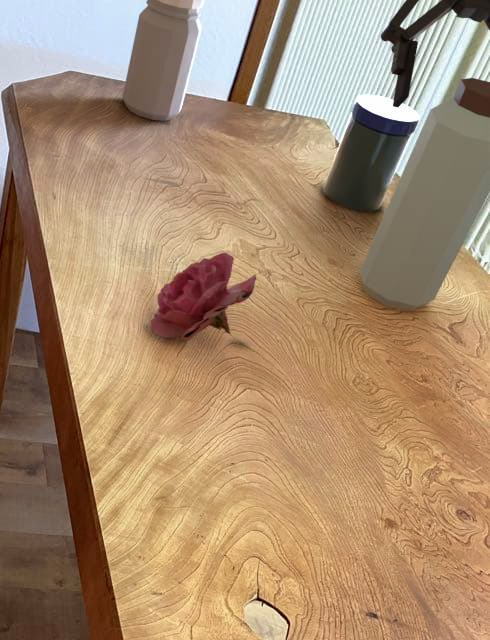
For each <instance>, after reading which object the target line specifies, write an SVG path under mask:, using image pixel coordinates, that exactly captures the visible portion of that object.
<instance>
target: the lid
mask: <svg viewBox="0 0 490 640" xmlns="http://www.w3.org/2000/svg"><path fill="white" fill-rule="evenodd" d="M393 100H394V99H393V98H389V97H384V96H381V95H376V94H375V95H374V94H361V95H358V96H357V97H356V99H355V101H354V102H353V105H352V108H351V110H350V113H352V116H353V117H354V118H355V119H356V120H357V121H359V122H360V123H362V124H364V125H365V126H367V127H370V128H372V129H375V130H378V131H381V132H384V133H388V134H393V135H410V134H412V135H413V133H415V131H416V129H417V126H418V123H419V121H420V115H419V114H418V112H417V111H416V110H414V109H413V108H411V107H410V106H408V105H406V104H404V103H402V104H401V105H400V107H399V108H397V107H392V105H393Z"/></svg>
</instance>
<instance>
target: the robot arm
mask: <svg viewBox="0 0 490 640" xmlns="http://www.w3.org/2000/svg"><path fill="white" fill-rule="evenodd" d="M419 2H420V0H405V1H404V2H403V4H402V5H401V6H400V8H399V9H398V10H397V11H396V13H395V14H394V16H393V17H392V19H390V21H389V22H388V24H386V26H385V28H384V29H383V30H382V31H381V33H380V39H381V41H383V42H389V43H391V44H392V45H391V47H390V48H391V49H390V50H391V52H392V54H393V56H392V62H391V67H390V68H391V69H390V71H391V72H390V73H391V74H392V75H395V76H396V83H395V88H394V95H393V99H392V100H393V105H392V107H397V108H399V107H400V105H401V104H404V102H405V101H406V100H407V99H408V98H409V96H410V91H411V86H412V79H413V74H414V67H415V62H416V58H417V57H416V56H417V52H418V44H419V41H418V40H415V39H417V38H418V37H419V36H421V35H422V34H423V33H424V32H426V31H427V30H428V29H429V28H431V27H432V26H433V25H434V24H436V23H437V22H438V21H439V20H441V19H443V18H444V17H446V15H448V14H449V13H451V11H452V12H453V13H454V14H455V18H458V19H470V20H472V21H473V22H476V23H480V24H481V23H482V22H484V24H485V26H486V27H487V29H488V30H489V31H490V0H439V2H437V3H436V4H434V5H433V6H432V7H431V8H430V9H429V10H428V11H426V12H425V13H423V15H421V16H420V17H419V18H417V19H416V20H415V21H413V22H412V23H411V24H410V25H408V26H407V27H406V28H403V27H402V26H401V25H402V24H403V23H404V21H405V20H406V19H407V17H408V16H409V14H410V13H411V12H412V11H413V9H414V8H415V7H416V5H417V4H418V3H419Z"/></svg>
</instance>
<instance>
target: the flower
mask: <svg viewBox="0 0 490 640" xmlns="http://www.w3.org/2000/svg"><path fill="white" fill-rule="evenodd" d="M234 260H235V258H234V256H233V255H232V254H229V253H228V252H221V253H218V254H216V255H214V256H212V257H211V258H205V257H203V258H202V259H200V261H196V262H194V263H191V264H190V265H188V266H187V268H185V269H182V271H181V272H180V271H179V272H178V273H176V274H175V275H174V277H173V278H172V281H170V282H169V283H165V284H164V285H163V287H162V288H160V291H159V293H157V296H156V299H157V305H158V309H157V312H154V314H153V315H154V316H153V318H151V320H150V328H151V332H152V333H153V334H155V335H156V336H158V337H161V338H165V339H171V340H172V339H176V338H178V337H180V336H181V339H180V341H181V342H183V343H187V342H189V341H190V340H191V339H192V338H194V337H195V336H197V335H198V334H199V333H201V332H202V331H203V330H205V329H206V328H208V327H212V328H215V329H217V330H219V331H221V330H222V329H223V330H224V332H225V333H227V334H229V335H230V336H231V337H232V338H233V339H234V340H235V341H237V343H238V344H240V345H241V346H242V345H243V343H242V342H241V341H240V340H238V339H237V338H236V337H234V336H233V335H232V333H231V331H230V326H229V323H228V316H227V313H226V310H228V308H229V306H233V305H236V304H241V303H242V302H245V301H247V300H248V299H250V297H251V296H252V294H253V292H254V290H255V284H256V281H257V274H253V275H252V276H251V277H249V278H247V279H245V280H244V281H241V282H239V283H236V284H233V285H231V286H229V287H228V284H229V282H230V279H231V276H232V271H233V265H234ZM221 328H222V329H221Z"/></svg>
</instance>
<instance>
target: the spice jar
mask: <svg viewBox="0 0 490 640" xmlns="http://www.w3.org/2000/svg"><path fill="white" fill-rule="evenodd" d="M350 113H351V112H350ZM412 135H413V133H412V134H410V135H393V134H388V133H384V132H381V131H378V130H375V129H372V128H370V127H367V126H365V125H364V124H362V123H360V122H359V121H357V120H356V119H355V118H354V117H353V116H352V113H351V114H350V117H349V118H348V121H347V124H346V126H345V129H344V132H343V135H342V137H341V140H340V142H339V145H338V147H337V151H336V152H335V155H334V158H333V161H332V163H331V166H330V168H329V170H328V174H327V176H326V179H325V182H324V184H323V186H322V192H323V194H324V195H325V196H326V198H328V199H329V200H331V201H332V202H334V203H336V204H337V205H340V206H341V207H345V208H347V209H351V210H354V211H359V212H376V211H378V210H379V209H380V208H381V206H382V205H383V204H382V203H383V202H384V199H385V197H386V195H387V192H388V190H389V187H390V185H391V183H392V181H393V178H394V177H395V174H396V172H397V170H398V167H399V165H400V162H401V160H402V158H403V156H404V153H405V151H406V149H407V146H408V144H409V142H410V139H411V137H412Z"/></svg>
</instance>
